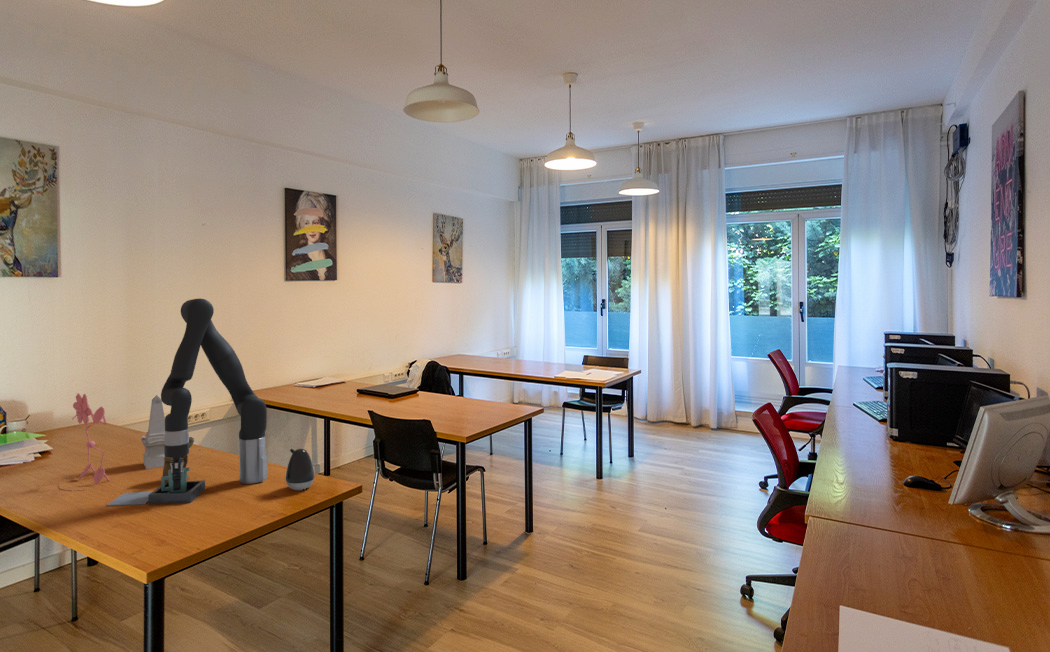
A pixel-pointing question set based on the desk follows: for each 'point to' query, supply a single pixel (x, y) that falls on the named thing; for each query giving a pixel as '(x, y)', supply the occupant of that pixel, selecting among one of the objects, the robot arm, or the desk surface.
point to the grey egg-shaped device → (299, 470)
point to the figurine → (83, 413)
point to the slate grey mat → (131, 499)
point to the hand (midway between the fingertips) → (177, 486)
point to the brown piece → (168, 460)
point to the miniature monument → (154, 436)
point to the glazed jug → (169, 478)
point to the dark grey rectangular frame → (177, 494)
